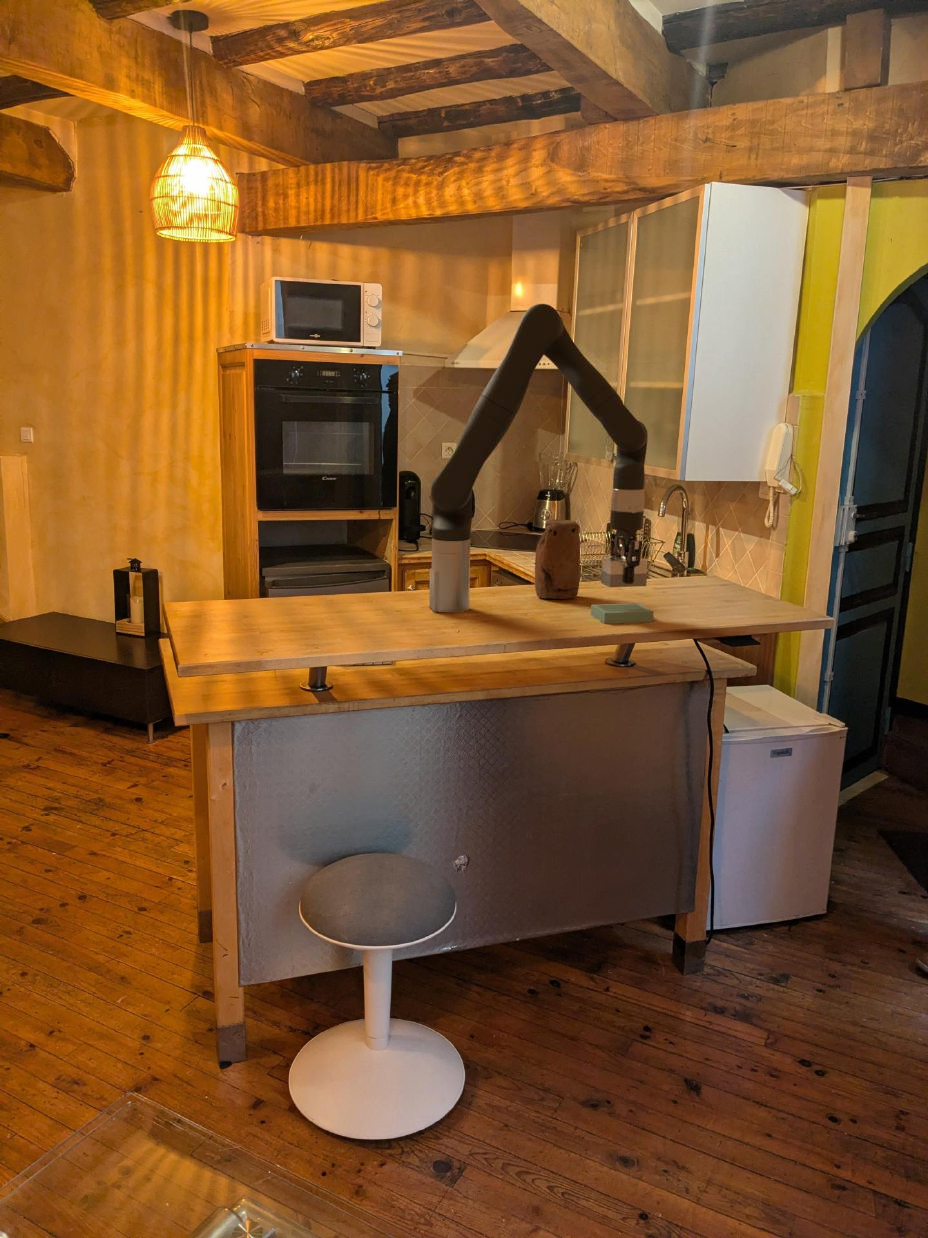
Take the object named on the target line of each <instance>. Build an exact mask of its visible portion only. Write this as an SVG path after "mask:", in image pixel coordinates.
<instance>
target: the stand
mask: <svg viewBox="0 0 928 1238" xmlns="http://www.w3.org/2000/svg"><path fill="white" fill-rule="evenodd" d="M654 613H655V611H654V610H652V609H650V608H648V607H646V606H644V605H643V604H641V603H638V602H637V603H610V604H609V603H606V604H605V603H604V604H602V603H601V604H591V607H590V616H592V617H593V618H595V619H596V620H598V619H599V620H600V622H601V621H602V622H603V624H604V623H606V624H626V623H627V624H628V623H632V624H633V623H634V624H635V623H653V622H654ZM599 620H598V621H599ZM602 622H601V623H602Z"/></svg>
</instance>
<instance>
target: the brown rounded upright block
mask: <svg viewBox="0 0 928 1238" xmlns="http://www.w3.org/2000/svg"><path fill="white" fill-rule="evenodd" d="M544 525H545V530H544V532H543V534H542V535H541V536H540V539H539V542H538V544H537V546H536V548H535V550H536V551H535V557H534V558H535V559H534V561H535V563H534V588H535V593H536V596H537V597H538V598H540V599H547V600H548V599H553V600H556V599H558V600H562V599H563V600H564V599H565V600H568V599H575V598H576V597H577V596H578V595H579V589H580V588H579V587H580V580H581V579H580V578H581V568H580V566H581V565H580V564H581V537H580V536H581V535H580V531H581V526H580V524H578V523H577V522H576V521H575V520H571V519H564V520H561V519H547V520H545V523H544Z"/></svg>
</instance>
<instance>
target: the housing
mask: <svg viewBox="0 0 928 1238" xmlns="http://www.w3.org/2000/svg"><path fill="white" fill-rule="evenodd" d="M601 558H602V559H601V574H600V576H601V577H600V583H601V584H602V585H604V586H606V587H609V588H627V587H628V588H632V587H635V588H636V587H647V581H648V580H647V579H648V564H649V563H648V560H647V559H645V558H643V557H640V564H639V566H636V567H634V582H633V583H632V584H625V583H624V568H625V566H624V559H623V558H622V557H615V556H611V555H610V556H609V557H601Z"/></svg>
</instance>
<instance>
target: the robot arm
mask: <svg viewBox="0 0 928 1238" xmlns="http://www.w3.org/2000/svg"><path fill="white" fill-rule="evenodd" d="M543 356H545V357H546V358H547V359H548V360H549V361H550V362H552V364H553V366H555V367H556V368H557V369H558V370H559V371H560V372H561V374H562V375H563V376H564V378H565V379H566V381H567V382H568V384H569V385H570V386H571V388H572V389H573V391H574V392H575V394H576V395H577V396H578V398H579V399H580V400H581V402H582V403H583V404H584V405H585V407H586V408H587V409H588V411H589V412H590V413H591V414H592V415H593V417H595V419H597V420H598V421H599V422H600V424H601V425H602V427H603V429H604V430H605V432H606V433H607V435H608V436H609V438H610V440H612V441H613V443H614V444H615V445H616V456H615V457H616V458H615V466H614V467H613V469H614V470H613V474H612V475H613V477H612V481H613V482H612V492H611V498H610V515H609V516H610V518H609V519H610V520H609V527H610V529H612V530H614V531H616V532H613V533H610V535H609V537H610V539H609V540H610V543H609V544H610V546H609V549H610V556H615V557H622V558H623V559H624V566H625V568H624V583H625V584H632V583H633V582H634V567H636V566H639V564H640V558H641V554H642V547H643V542H642V540H637V532H638V531H641V530H642V529H643V528H644V512H645V475H646V474H645V462H646V455H647V447H648V440H649V439H648V438H649V437H648V429H647V427H646V426H645V424H644V423H643V422H641V421H640V420H638V419H637V418H636V417H635V416H634V415H633V413H632V412H631V411H630V410H629V408H628V407H627V406H626V405H625V403H624V401H623V400H622V398H621V397H620V395H619V394H618V393H617V391H616V390H615V389H614V387H613V386H612V385H611V384H610V383H609V381H608V380H607V379H606V377H605V376H603V374H602V373H601V372H600V371H599V370H598V369H597V368H596V367H595V366H594V365H592V363H591V362H590V361H589V360H588V359H587V358H586V356H585V355H584V354H583V352H581V351H580V349H579V348H578V347H577V345H576V343H575V342H574V341H573V339H572V337H571V336H570V334H569V332H568V331H567V328H566V326H565V324H564V321H563V319H562V317H561V315H560V313H559V312H558V311H557V310H556V309H555V308H554V307H553V306H552V305H549V304H547V303H537V304H535V305H532V306H531V307H529V308H528V309H527V310H526V311H525V312H524V314H523V316H522V317H521V320H520V322H519V324H518V327H517V329H516V332H515V334H514V336H513V338H512V341H511V344H510V345H509V348H508V349H507V352H506V354H505V355H504V358H503V359H502V361H501V362H500V364H499V366H498V367H497V369H495V372H494V373H493V375H492V376H491V378H490V380H489V381H488V383H487V385H486V387H485V388H484V390H483V391H482V393H481V395H480V396H479V398H478V401H477V402H476V404H475V406H474V408H473V409H472V412H471V414H470V415H469V417H468V420H467V422H466V424H465V427H464V429H463V432H462V434H461V436H460V437H459V441H458V444H457V446H456V448H455V450H454V451H453V453H452V454H451V456H450V458H449V459H448V461H447V462H446V463H445V465H444V467H443V468H442V469H441V471H440V472H439V473H438V475H437V476H436V478H434V480H433V482H432V484H431V487H430V496H431V499H432V502H433V518H432V527H431V568H430V569H429V606H428V607H429V608H430V609H431V610H432V612H434V613H437V612H439V613H447V614H448V613H449V614H450V613H453V614H454V613H463V612H467V611H469V610H470V587H471V586H470V584H471V583H470V582H471V581H470V580H471V579H470V578H471V532H472V531H471V530H472V521H473V520H472V518H473V517H472V515H473V488H474V485H475V482H476V480H477V478H478V476H479V474H480V472H481V470H482V468H483V466H484V464H485V463H486V461H487V460H488V458H489V457H490V455H492V453H493V452H494V451H495V449H496V448H497V446H498V445H499V444H500V443H501V441H502V440H503V438H504V436H505V435H506V434H507V432H508V430H509V429H510V427H511V425H512V424H513V421H514V420H515V418H516V416H517V414H518V412H519V410H520V408H521V406H522V403H523V401H524V399H525V396H526V392H527V391H528V387H529V384H530V381H531V378H532V376H533V374H534V371H535V369H536V368H537V366H538V365H539V363H540V361H541V359H543Z"/></svg>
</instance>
